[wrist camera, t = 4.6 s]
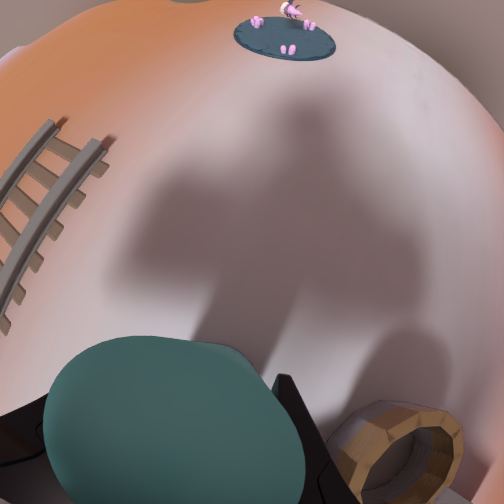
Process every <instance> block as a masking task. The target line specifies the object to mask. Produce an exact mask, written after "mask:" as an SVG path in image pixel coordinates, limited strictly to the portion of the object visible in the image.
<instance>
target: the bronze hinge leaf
mask: <svg viewBox="0 0 504 504" xmlns="http://www.w3.org/2000/svg"><path fill="white" fill-rule="evenodd" d="M418 427H427V428H428V429H429V430H430V431H431V437H432V445H433V452H432V454H431V457H430V460H429V463H428V465H427V468H426V470H425V472H424V473H423V475H422V476H421V477H420V478H419V479H418V480H417V482H416V483H415V484H414V485H413V486H412V487H411V488H410V489H409V490H408V491H407V492H405V493H403V494H401V495H400V496H398V497H396V498H394V499H393V500H391V501H389V502H386V503H378V504H435V503H436V502H435V503H433V502H432V501H433V500H434V499H435V498H436V497H437V495H438V494H439V493H440V492H441V491H442V489H443V488H444V487H445V486H447V487H449V486H450V485H451V483H452V482H453V480H454V477H455V475H456V473H457V470H458V468H459V465H460V462H461V460H462V457H463V454H464V444H463V430H462V426H461V425H460V424H459V423H458V422H457V421H456V420H455V419H454V418H453V417H452V416H451V415H450V414H449V413H448V412H447V411H443V410H438V409H433V408H428V407H416V406H397V407H395V408H393V409H391V410H389V411H387V412H385V413H383V414H382V415H380V416H378V417H376V418H373V419H371V420H369V421H367V422H366V423H365V425H364V426H363V427H362V428H361V429H360V430H359V431H358V433H357V434H356V435H355V436H354V437H353V438H352V439H351V440H350V441H349V442H348V443H347V444H346V445H345V446H344V448H343V449H342V450H341V453H340V456H339V459H338V461H337V464H336V466H337V468H338V470H339V472H340V474H341V475H342V477H343V479H344V480H345V482H346V483H347V485H348V486H349V488H350V489H351V491H352V492H353V494H354V495H355V496H356V498H357V499H358V500H359V502H360V503H361V504H364V503H362V498H361V494H360V492H361V490H362V488H363V485H364V483H365V481H366V478H367V476H368V473H369V470H370V468H371V466H372V465H373V464H374V463H375V462H376V461H377V460H378V459H379V458H380V456H381V455H382V454H383V453H384V452H385V451H386V450H387V449H388V447H389V446H390V445H391V444H392V443H393V442H394V441H396V440H398V439H399V438H401V437H403V436H405V435H406V434H408V433H410V432H411V431H413V430H415V429H416V428H418Z"/></svg>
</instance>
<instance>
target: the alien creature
mask: <svg viewBox="0 0 504 504" xmlns="http://www.w3.org/2000/svg"><path fill="white" fill-rule="evenodd" d="M293 1H294V0H289V1H288V2H284V3H282V4H283V5H281V6H282V7H280V8H281V9H283V10H280V12H281V13H282V14H286V15H287V16H288V14H289V16H290V18H292V17H291V15H295V17H296V15H302V13H301V12H299V11H298V10H297V9H296V8H297V7H298V6H300V5H297V6H296V7H294V6H293V5H292V3H293ZM289 16H288V17H289ZM296 18H297V17H296ZM234 38H235V40H236V41H237V43H239V44H240V45H241V46H243V47H244V48H246V49H248V50H250V51H252V52H255V53H258V54H261V55H264V56H268V57H273V58H278V59H284V60H293V61H314V60H320V59H324V58H327V57H329V56H331V55H332V54H333V53H334V52H335V50H336V45H335V42H334V40H333V39H332V38H331V36H330V35H328V34H327V33H326V32H325V31H323V30H321V29H320V28H319V27H317V26H316V23H315V22H312V23H311V24H310V21H309V20H307V19H306V20H304V21H300V20H294V19H293V18H292V19H289V18H284V17H263V18H259V17H258V16H255V17H254V18H253V19H249V20H246V21H245V22H243V23H240V24H239V26H238V27H237V28H236V29H235V31H234Z"/></svg>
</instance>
